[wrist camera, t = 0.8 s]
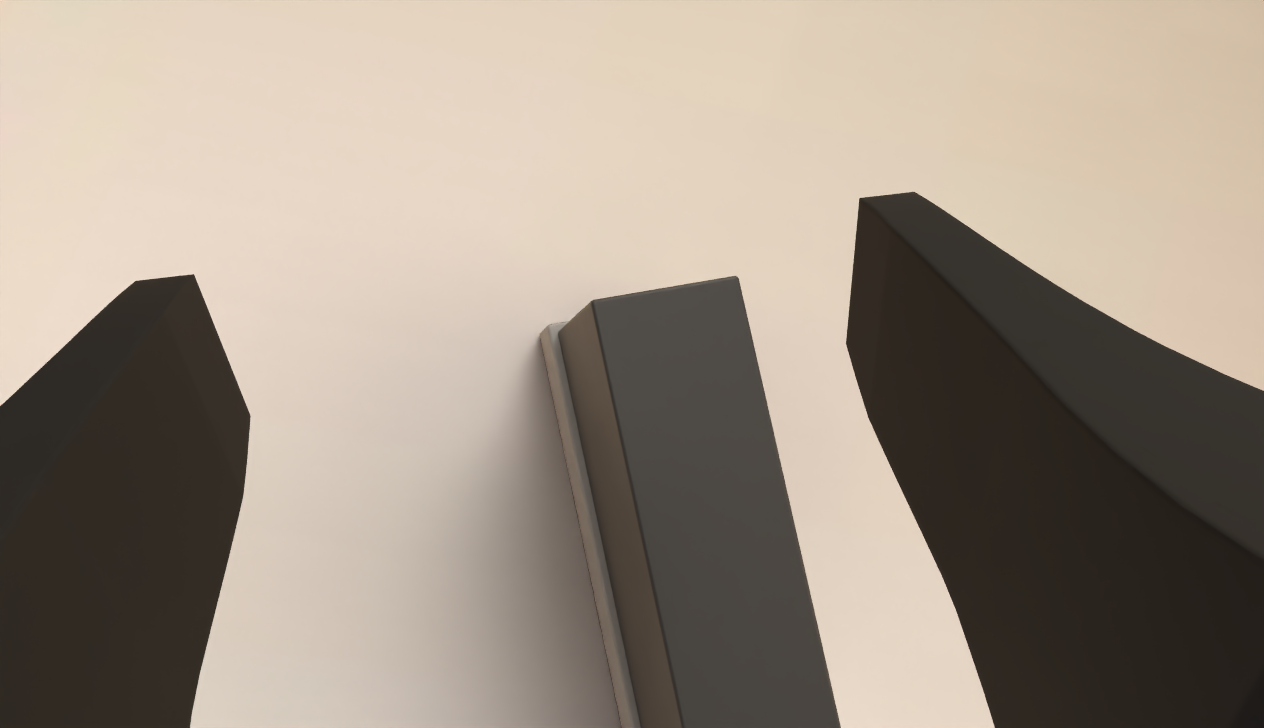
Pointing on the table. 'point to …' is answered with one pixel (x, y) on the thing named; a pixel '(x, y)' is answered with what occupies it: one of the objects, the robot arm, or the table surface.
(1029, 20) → the table surface
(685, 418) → the dark grey eraser block
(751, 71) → the table surface
